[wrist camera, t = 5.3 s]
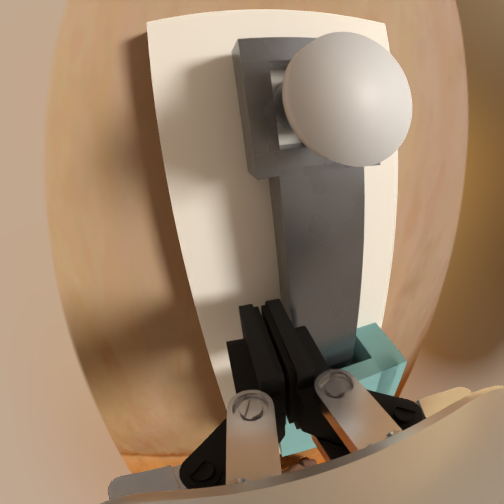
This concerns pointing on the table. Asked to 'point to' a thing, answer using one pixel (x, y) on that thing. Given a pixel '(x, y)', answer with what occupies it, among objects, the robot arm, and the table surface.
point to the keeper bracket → (359, 377)
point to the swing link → (304, 207)
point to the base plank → (289, 132)
